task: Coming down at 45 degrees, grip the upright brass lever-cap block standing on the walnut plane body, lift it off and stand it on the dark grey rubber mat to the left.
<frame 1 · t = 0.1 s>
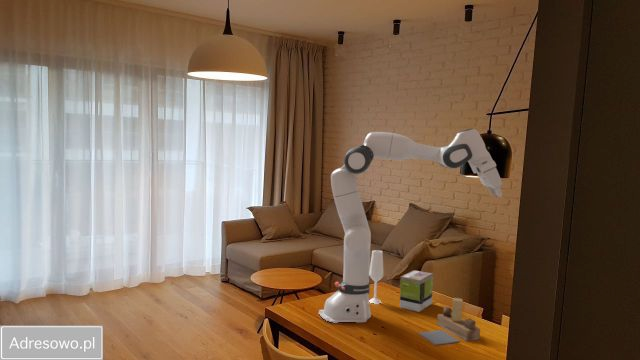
hand: (497, 195, 187), 54 cm above the table, tool tilted 30°, fingers open, 8 cm apart
plane body: (457, 331, 183), on the table
tea box: (415, 306, 212), on the table
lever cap: (456, 320, 184), point 4 cm above the table, touching plane body
champagne flute: (374, 302, 216), on the table
rubber mat: (438, 337, 176), on the table
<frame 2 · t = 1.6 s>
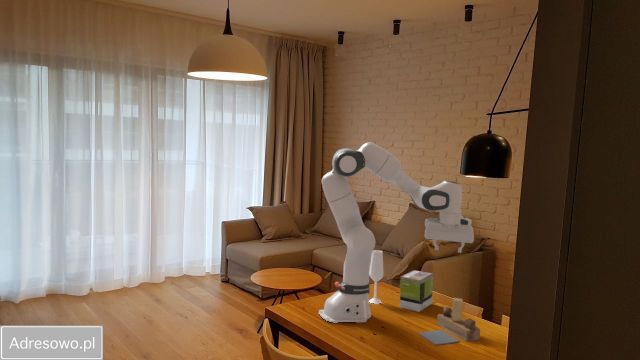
hand: (448, 251, 196), 29 cm above the table, tool pointing down, fingers open, 8 cm apart
nothing on the table moved.
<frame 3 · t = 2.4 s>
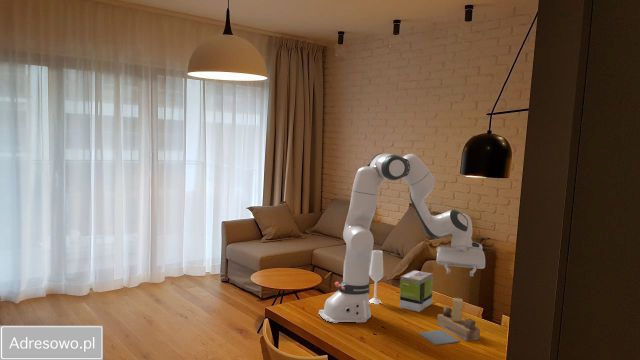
hand: (459, 274, 195), 20 cm above the table, tool tilted 45°, fingers open, 8 cm apart
nothing on the table moved.
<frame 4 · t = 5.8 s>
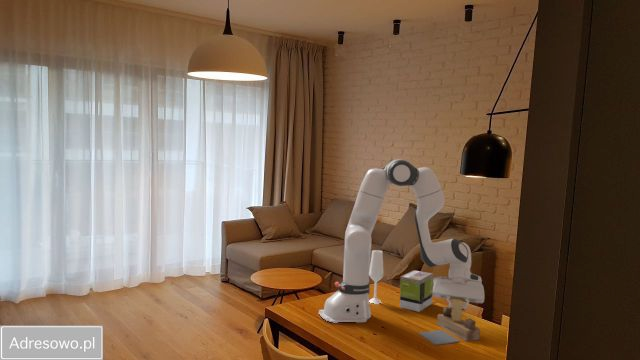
hand: (457, 309, 183), 9 cm above the table, tool tilted 45°, fingers closed on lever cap, 4 cm apart
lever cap: (456, 320, 184), point 4 cm above the table, touching gripper, plane body
everything else where it was.
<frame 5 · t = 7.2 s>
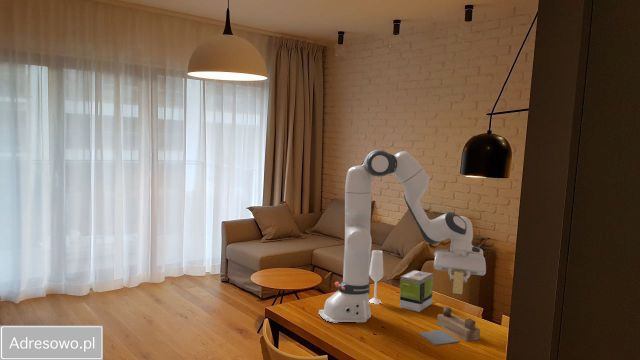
hand: (458, 280, 182), 20 cm above the table, tool tilted 45°, fingers closed on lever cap, 4 cm apart
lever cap: (457, 292, 183), point 15 cm above the table, touching gripper
everything else where it was.
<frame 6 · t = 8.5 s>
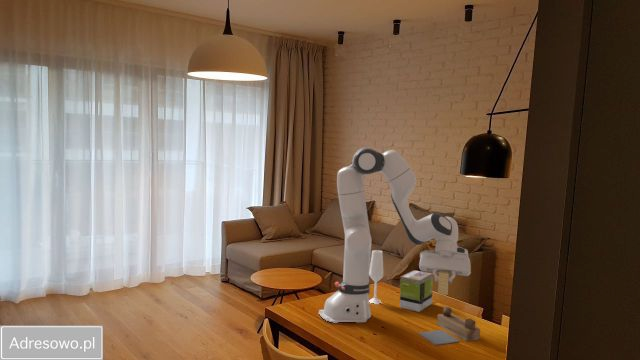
hand: (443, 281, 182), 20 cm above the table, tool tilted 45°, fingers closed on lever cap, 4 cm apart
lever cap: (442, 293, 183), point 15 cm above the table, touching gripper
everything else where it was.
when the fingers open (7 cm above the table, at t = 11.5 s): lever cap drops 1 cm, resting on rubber mat.
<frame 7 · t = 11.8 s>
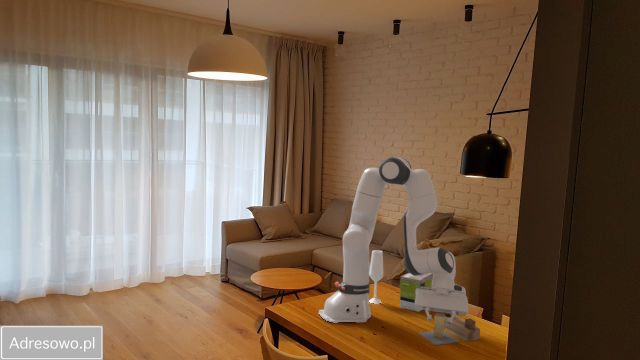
hand: (439, 321, 175), 7 cm above the table, tool tilted 45°, fingers open, 6 cm apart
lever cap: (438, 336, 176), resting on rubber mat
everything else where it was.
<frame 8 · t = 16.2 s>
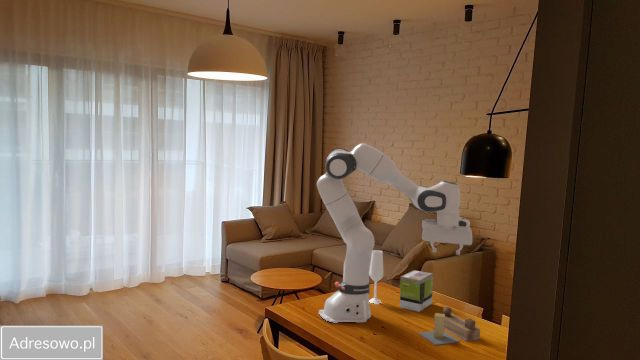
hand: (446, 253, 191), 29 cm above the table, tool pointing down, fingers open, 8 cm apart
nothing on the table moved.
at the end: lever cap inside the target area on the rubber mat (0.1 cm from its centre), point 0.4 cm above the rubber mat's base; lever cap tilted 0°; the gripper is holding nothing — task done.
